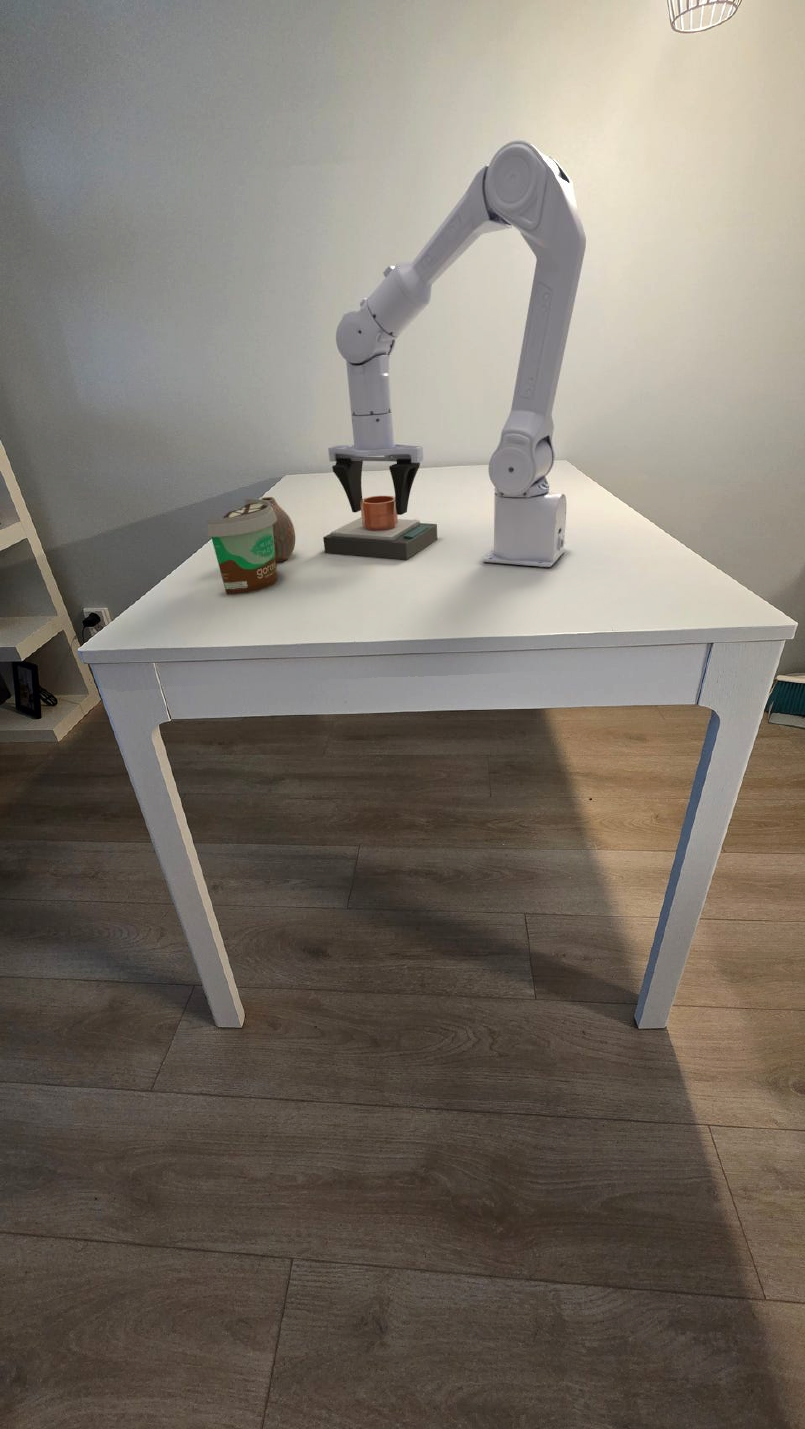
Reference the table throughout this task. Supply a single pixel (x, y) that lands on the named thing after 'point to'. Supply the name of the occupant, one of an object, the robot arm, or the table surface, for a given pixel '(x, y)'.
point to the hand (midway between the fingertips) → (379, 512)
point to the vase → (282, 532)
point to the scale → (381, 539)
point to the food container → (245, 547)
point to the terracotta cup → (379, 513)
